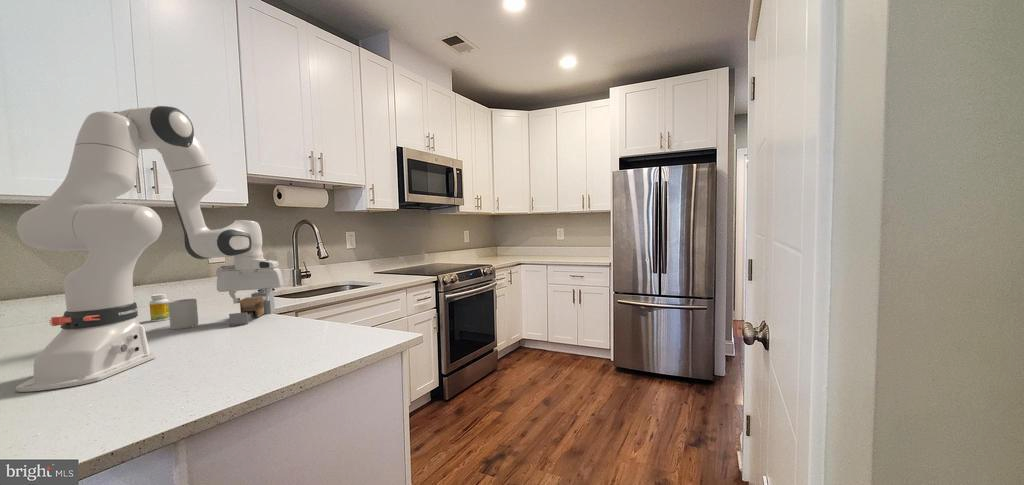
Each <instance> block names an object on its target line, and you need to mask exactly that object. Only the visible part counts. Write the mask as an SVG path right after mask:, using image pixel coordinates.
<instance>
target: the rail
mask: <svg viewBox="0 0 1024 485" xmlns="http://www.w3.org/2000/svg"><path fill="white" fill-rule="evenodd" d="M228 316H229V326H230V327H233V326H232V325H237V326H243V325H242V324H247V325H248V324H249V322H251V321H253V320H254V319H253V318H255V317H256V312H255V310H254V311H246V312H244V313H241V312H237V313H236V312H235V313H228ZM256 318H257V317H256ZM256 318H255V319H256ZM252 319H253V320H252ZM250 320H251V321H250ZM248 321H249V322H248Z"/></svg>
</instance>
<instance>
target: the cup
mask: <svg viewBox="0 0 1024 485" xmlns="http://www.w3.org/2000/svg"><path fill="white" fill-rule="evenodd" d="M168 306H169V318H170V319H169V326H170V329H171V330H174V329H176V330H183V329H182V328H185V329H189V328H188V327H190V328H193V327H192V326H194V327H196V326H195V325H197V326H198V325H199V315H198V314H199V313H198V301H197V298H184V299H177V300H172V301H169V302H168Z"/></svg>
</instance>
